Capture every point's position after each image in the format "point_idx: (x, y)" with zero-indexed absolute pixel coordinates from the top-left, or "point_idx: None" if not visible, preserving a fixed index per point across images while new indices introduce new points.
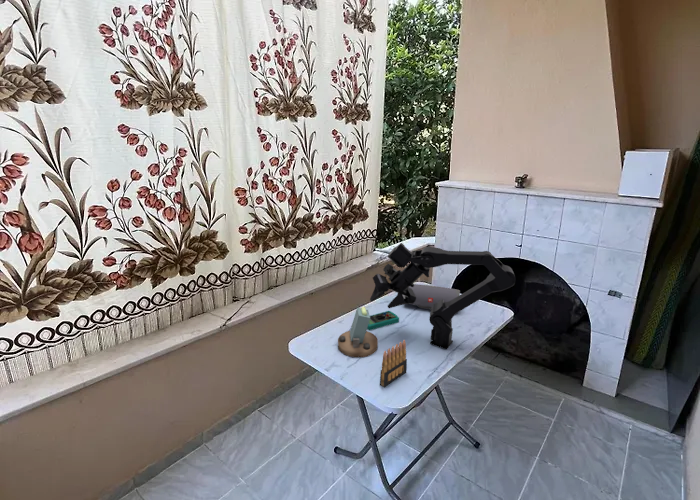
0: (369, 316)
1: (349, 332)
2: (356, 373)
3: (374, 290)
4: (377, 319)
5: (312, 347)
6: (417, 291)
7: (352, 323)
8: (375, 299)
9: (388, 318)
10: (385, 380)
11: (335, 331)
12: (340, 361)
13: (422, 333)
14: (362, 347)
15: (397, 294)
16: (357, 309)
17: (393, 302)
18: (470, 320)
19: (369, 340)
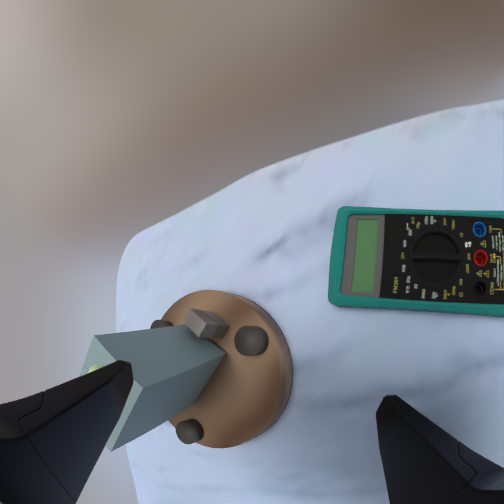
0: (113, 441)
1: (213, 303)
2: (149, 447)
3: (27, 409)
4: (408, 266)
5: (140, 278)
6: None
7: (159, 329)
8: (111, 430)
9: (467, 289)
10: None
11: (226, 232)
12: None
13: (498, 460)
14: (186, 416)
15: (482, 495)
16: (88, 353)
17: (408, 462)
18: None
19: (230, 408)
